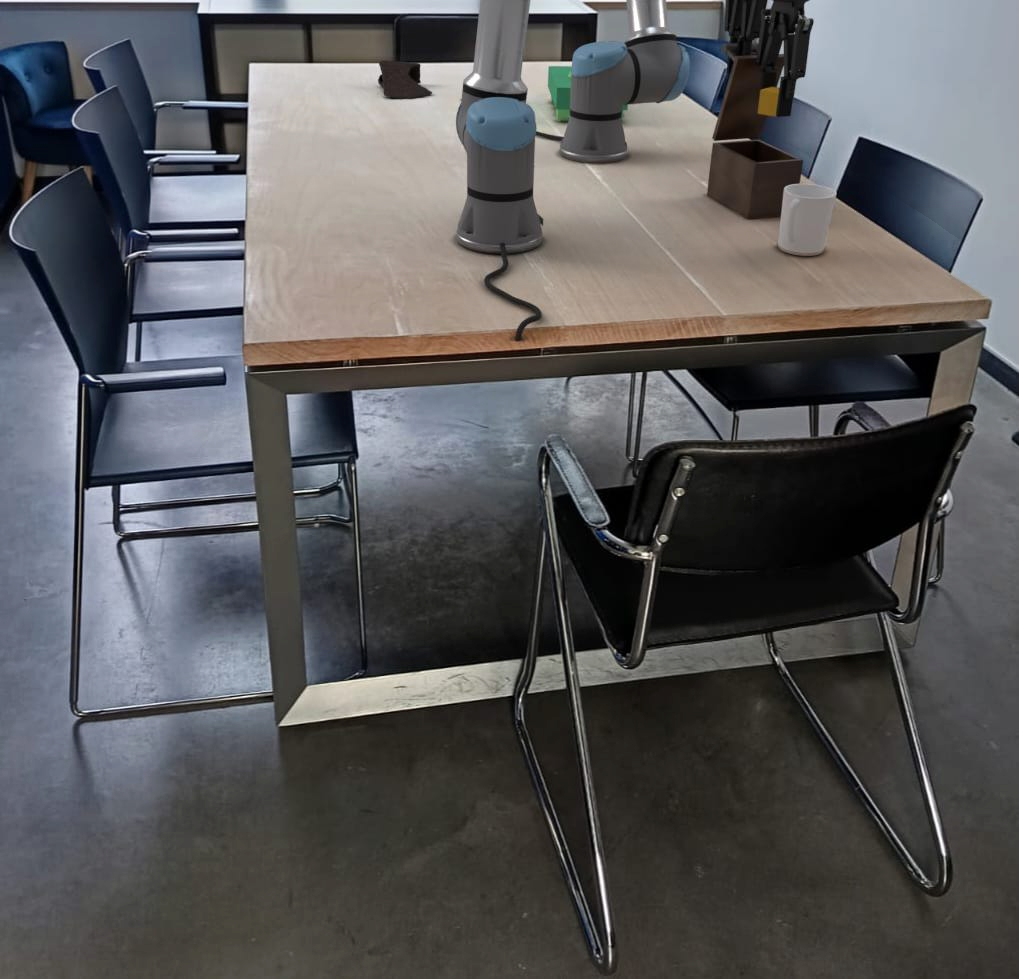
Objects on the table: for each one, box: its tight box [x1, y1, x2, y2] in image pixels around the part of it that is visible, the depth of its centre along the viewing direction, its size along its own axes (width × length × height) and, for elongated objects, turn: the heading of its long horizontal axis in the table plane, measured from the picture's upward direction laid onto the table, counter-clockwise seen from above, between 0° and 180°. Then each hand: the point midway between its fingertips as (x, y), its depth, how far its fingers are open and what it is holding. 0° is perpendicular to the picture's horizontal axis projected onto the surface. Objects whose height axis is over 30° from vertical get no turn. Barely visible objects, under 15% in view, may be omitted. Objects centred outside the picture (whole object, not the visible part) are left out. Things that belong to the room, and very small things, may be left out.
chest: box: [706, 138, 804, 220], centre depth 215 cm, size 16×10×10 cm, turn 20°
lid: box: [711, 41, 784, 142], centre depth 214 cm, size 17×10×9 cm
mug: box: [777, 183, 837, 257], centre depth 191 cm, size 11×9×10 cm
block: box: [758, 86, 780, 118], centre depth 203 cm, size 4×4×4 cm
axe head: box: [377, 59, 433, 99], centre depth 299 cm, size 18×8×15 cm
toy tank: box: [547, 65, 629, 122], centre depth 283 cm, size 18×12×35 cm
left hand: (773, 112), depth 204 cm, fingers closed on block, 6 cm apart
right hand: (736, 73), depth 214 cm, fingers closed on lid, 2 cm apart
